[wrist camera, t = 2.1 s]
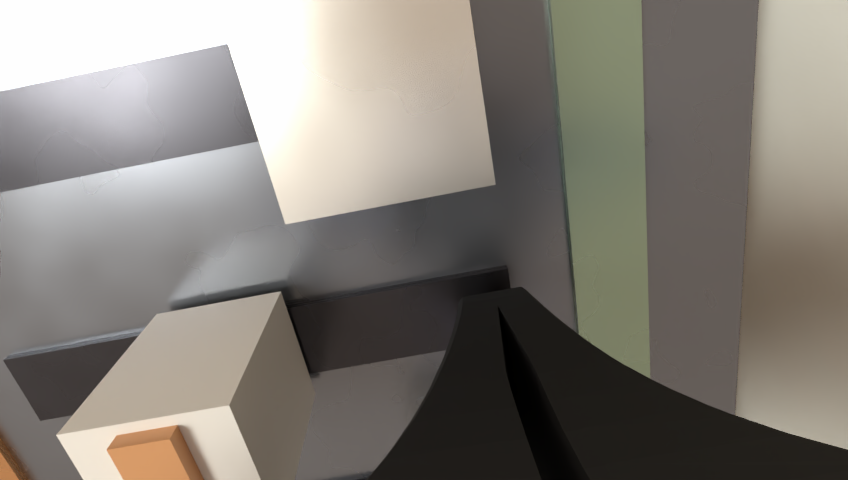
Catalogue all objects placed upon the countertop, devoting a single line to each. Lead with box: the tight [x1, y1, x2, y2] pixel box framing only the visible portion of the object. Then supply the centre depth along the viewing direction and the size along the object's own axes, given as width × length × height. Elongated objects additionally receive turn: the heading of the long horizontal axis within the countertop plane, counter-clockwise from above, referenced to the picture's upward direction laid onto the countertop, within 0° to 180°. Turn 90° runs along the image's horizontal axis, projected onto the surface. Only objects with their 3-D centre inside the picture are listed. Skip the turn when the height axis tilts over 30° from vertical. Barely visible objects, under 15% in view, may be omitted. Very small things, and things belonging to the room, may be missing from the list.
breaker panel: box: [0, 0, 759, 480], centre depth 11 cm, size 16×22×5 cm
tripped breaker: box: [56, 291, 316, 480], centre depth 10 cm, size 3×3×4 cm
